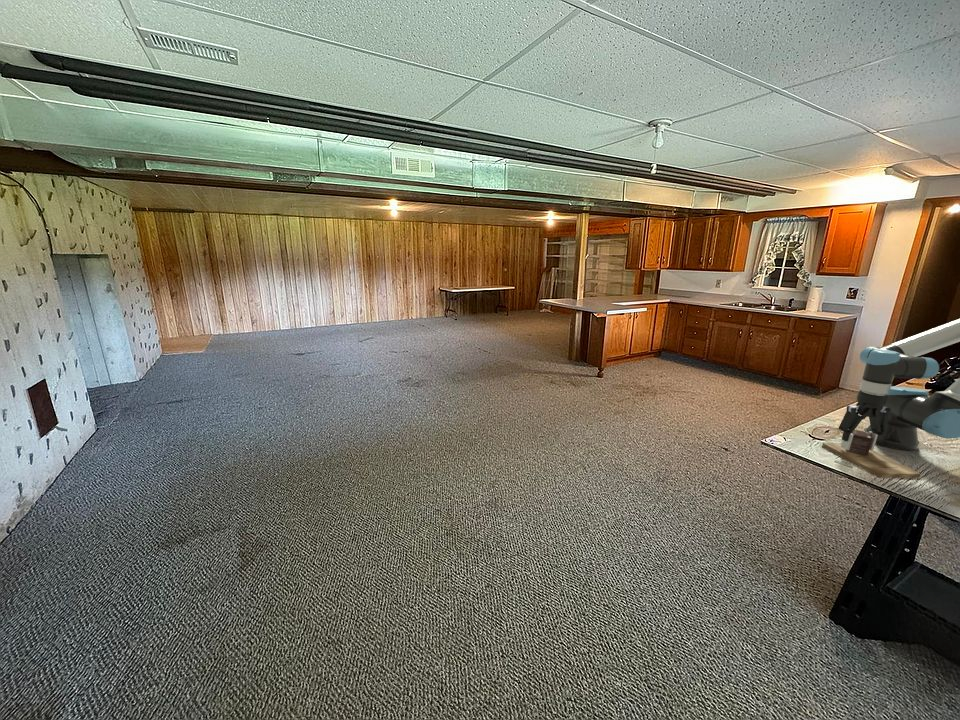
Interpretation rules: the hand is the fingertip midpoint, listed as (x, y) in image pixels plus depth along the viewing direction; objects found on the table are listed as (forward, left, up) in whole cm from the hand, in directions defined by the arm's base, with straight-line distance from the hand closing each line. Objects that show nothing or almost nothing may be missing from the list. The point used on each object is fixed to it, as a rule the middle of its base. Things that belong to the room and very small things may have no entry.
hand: (856, 448), depth 142 cm
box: (0, 0, -1) cm, 1 cm away
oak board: (0, +5, -2) cm, 5 cm away
